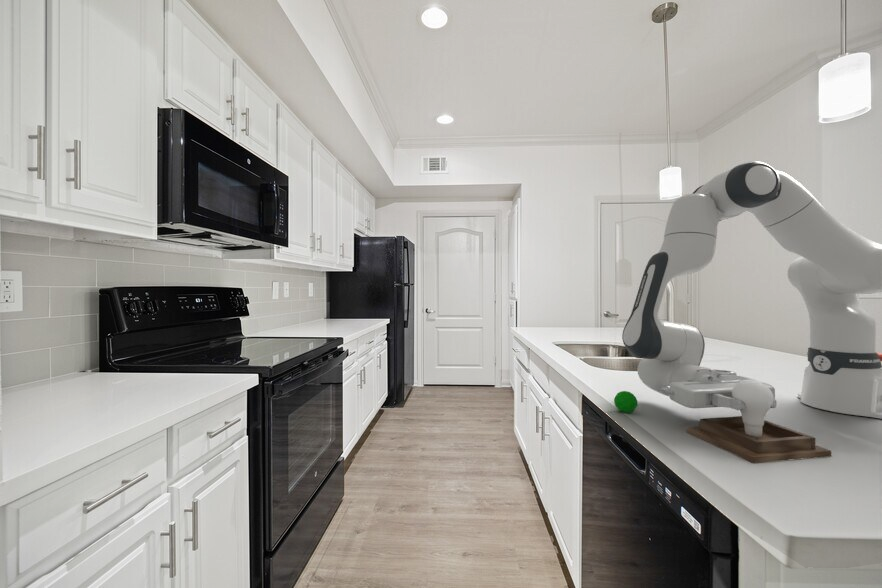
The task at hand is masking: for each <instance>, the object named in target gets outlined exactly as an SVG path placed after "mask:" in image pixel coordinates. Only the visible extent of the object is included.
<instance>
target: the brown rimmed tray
mask: <svg viewBox="0 0 882 588" xmlns="http://www.w3.org/2000/svg"><path fill="white" fill-rule="evenodd" d="M686 433H688V434H690V435H692V436H694V437H697V438H698V439H701V440H702V441H705V442H706V443H709V444H711V445H713V446H715V447H718V448H720V449H722V450H724V451H727V452H728V453H731V454H733V455H735V456H737V457H739V458H742V459H744V460H745V461H748V462H749V463H752V464H758V463H768V462H770V463H771V462H780V461H782V460H783V461H790V460H789V459H794V460H802V459H801V458H806V459H815V457H817V458H827V456H828V457H832V450H831V449H828V448H826V447H822V446H820V445H817V443H816V442H817V441H816V438H817V437H814V436H812V435H809V434H805V433H802V432H800V431H797V430H794V429H791V428H788V427H787V426H783V425H779V424H776V423H773V422H772V421H767V420H765V419H764V425H763V426H762V436H761V437H758V438H756V439H755V438H752V437H750V436H749V435H747V434H746V433H745V427H744V423H743V420H742V415H738V416H736V415H735V416H722V417H721V416H720V417H708V418H699V426H689V427H686Z"/></svg>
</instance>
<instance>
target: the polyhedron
mask: <svg viewBox="0 0 882 588" xmlns="http://www.w3.org/2000/svg"><path fill="white" fill-rule="evenodd" d="M613 401H614V403H613V404H614V405H615V407H616V408H617V410H618V411H620V412H621V413H625V414H628V413H633V412H634V411H635V410H636V409H637V407H638V400H637V397H636V396H635V395H634V394H633V393H632V392H630V391H627V390H623V391H619V392H617V393H616V395H615V397H613Z"/></svg>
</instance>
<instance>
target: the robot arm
mask: <svg viewBox="0 0 882 588" xmlns="http://www.w3.org/2000/svg"><path fill="white" fill-rule="evenodd" d="M669 210H670V211H669V214H668V217H667V220H666V224H665V230H664V235H663V241H662V244H661V246H660V249H659V250H658V252H657V253H655V254H653V255H652V256H651V257H650V258H649V260H648V262H647V264H646V266H645V269H644V272H643V274H642V277H641V281H640V284H639V287H638V291H637V294H636V296H635V297H636V298H635V300H634V304H633V307H632V309H631V313H630V316H629V318H628V320H627V321H626V324H625V326H624V327H623V331H622V334H621V337H622V343H623V345H624V347H625V349H626V350H627V351H628V353H629V354H630V355H631V356H632V357H634V358H636V359H640V361H639V363H638V365H637V375H638V378H639V379H640V381H641V382H642V383H643V385H645V386H646V387H648V388H649V389H651V390H653V391H655V392H657V393H658V394H660V395H664V396H665V397H666V396H667V397H669V399H670V400H671V401H673V402H674V403H677V404H679V405H681V406H683V407H685V408H688V409H689V408H690V409H706V408H728V409H731V410H736V411H740V410H745V409H746V406H745V403H744V402H743V401H742V400H738V399H736V398H733V397H732V390H733V388H734V386H735V385H736V384H737V383H738V382H740V381H743V380H756V379H752V378H750V377H746V376H742V375H737V372H735V371H732V370H725V369H712V368H710V367H705V366H701V363H702V360H703V357H704V353H705V348H706V347H705V344H706V343H705V339H704V336H703V334H702V332H701V331H700V329H698V327H696V326H694V325H692V324H686V323H683V322H678V321H677V322H676V321H669V320H664V319H659V316H658V315H659V312H660V308H661V304H662V301H663V297H664V294H665V291H666V288H667V285H668V284H669V282H670V281H672V280H673V279H675V278H677V277H681V276H685V275H692V274H694V273H696V272H699V271H701V270H702V269H704V268H706V267H707V266H708V265H709V264H711V262H712V260H713V258H714V255H715V252H716V247H717V246H716V245H717V237H718V225H719V222H721V221H723V220H728V219H731V218H734V217H737V216H739V215H742V214H743V213H745V212H750V213H751V214H752V215H754V216H755V218H756V219H757V220H758V222H759V223H760V224H761V225H762V227H763V228H765V230H766V231H767V232H768V233H769V234H770V235H771V236H772V238H774V240H775V241H776V242H777V243H778V244H779V245H780V246H781V248H783V249H784V250H786V251H788V252H791V253H792V254H793V253H794V254H796V255H798V256H799V257H797V258H795V259H794V260H793V261H792V262H791V263H790V264H789V266H788V269H787V279H788V281H789V282H790V284H791V285H792V286H793V287H794V288H795V289H796V290H798V292H799V293H800V295H801V296H802V298H803V301H804V304H805V306H806V309H807V312H808V317H809V331H810V333H809V334H810V335H809V339H810V343H809V347H808V348H807V352H806V355H807V361H808V363H809V364H808V365H807V366H806V367H805V369H804V372H803V379H802V385H801V392H798V393H797V397H798V399H800V402H801V403H803V404H804V405H806V406H810V407H813V408H815V409H820V410H824V411H829V412H833V413H839V414H846V415H853V416H862V417H870V418H875V419H881V420H882V353H880V352H876V336H877V335H876V331H877V330H876V326H877V323H876V320H875V318H874V317H873V316H872V315H871V314H870V313H868V312H867V311H865V310H864V309H863V307H862V306H861V304H860V302H859V301H858V298H857V295H858V294H859V295H862V294H863V295H870V294H871V295H872V294H877V293H882V243H878V242H876V241H873V240H871V239H869V238H867V237H865V236H863V235H861V234H859V233H858V232H857V231H854V230H852V229H851V228H849V227H848V226H846V225H844V223H842V222H840V221H839V220H838V219H836V217H835V216H834V215H832V214H831V213H830V212H829V210H827V209H826V208H825V206H824V205H823V204H822V203H821V202H820V201H819V199H817V198H816V197H815V196H814V195H813V194H812V193H811V192H810V191H809V190H808V189H807V188H806V187H804V185H802V184H801V183H800V182H798V180H796V179H794V177H792V176H790V175H789V174H787V173H785V172H784V171H780V170H776V169H775V168H774V167H773V166H771V165H769V164H767V163H766V162H762V161H757V160H756V161H748V162H744V163H741V164H738V165H736V166H734V167H732V168H731V169H727V170H726V171H723V172H722V173H720V174H718V175H716V176H714V177H713V178H712V179H710V180H709V181H708V182H706V183H704V184H703V185H700V186H699V187H698V188H696V189H694V191H693V192H692V193H689V194H685V195H682V196H680V197H678V198H677V199H676V200H675V201H674V202H673V203H672V205H671V209H669ZM756 381H759V380H756ZM759 382H761V383H763V384H765V385H766V386H767V387H768V388H769V389H770V390H771V392H772V394H773V398H774V400H773V404H772V405H771V407H770V409H776V408H777V399H776V389H775V387H774V386H773V385H772V384H769V383H767V382H763V381H759Z"/></svg>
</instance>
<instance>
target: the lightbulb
mask: <svg viewBox="0 0 882 588" xmlns="http://www.w3.org/2000/svg"><path fill="white" fill-rule="evenodd" d="M761 382H762V381H760V382H759V380H757V381H756V379H754V380H743V381H740V382H738V383H737V384H736V385H735V386H734V388H733V390H732V397H733V398H736V399H738V400H742V401H743V402H744V403H745V406H746V409H745V410H739V411H740V414H741V416H742V420H743V423H744V427H745V433H746V434H747V435H749V436H750V437H752V438H755V439H756V438H758V437H761V436H762V426H763V425H764V420H765V418H766V415H767V413H768V411H769V410H770V409H771V408H770V407H771V405H772V404H773V400H774V398H773V394H772V392H771V390H770V389H769V388H768V387H767V386H766V385H765V384H763V383H764V382H763V383H761Z"/></svg>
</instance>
